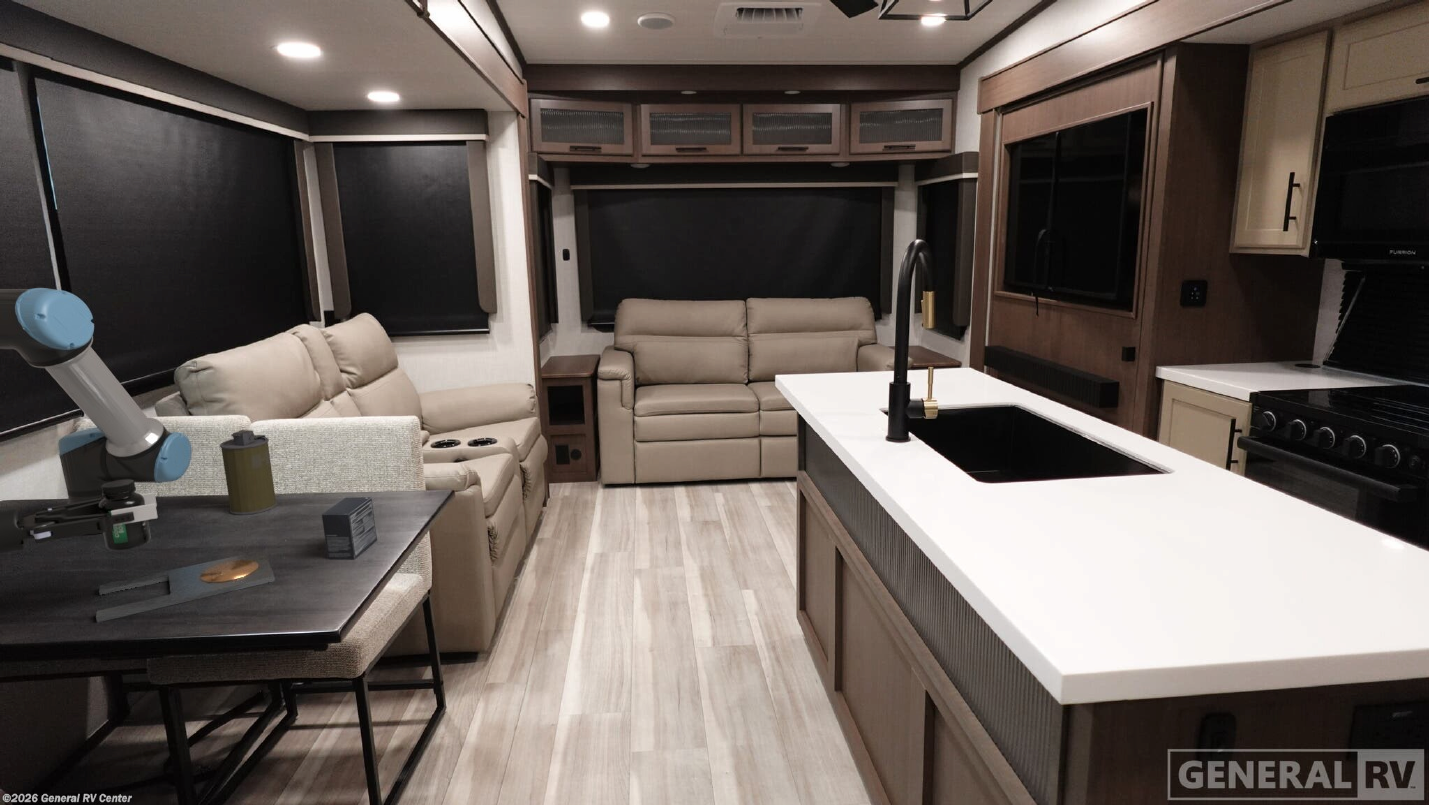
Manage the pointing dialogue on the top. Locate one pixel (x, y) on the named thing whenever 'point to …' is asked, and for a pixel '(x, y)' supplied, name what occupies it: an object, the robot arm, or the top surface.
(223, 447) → the canister
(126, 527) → the supplement bottle
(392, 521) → the top surface
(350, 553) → the small box
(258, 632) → the top surface
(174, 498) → the top surface
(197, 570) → the rail plate
